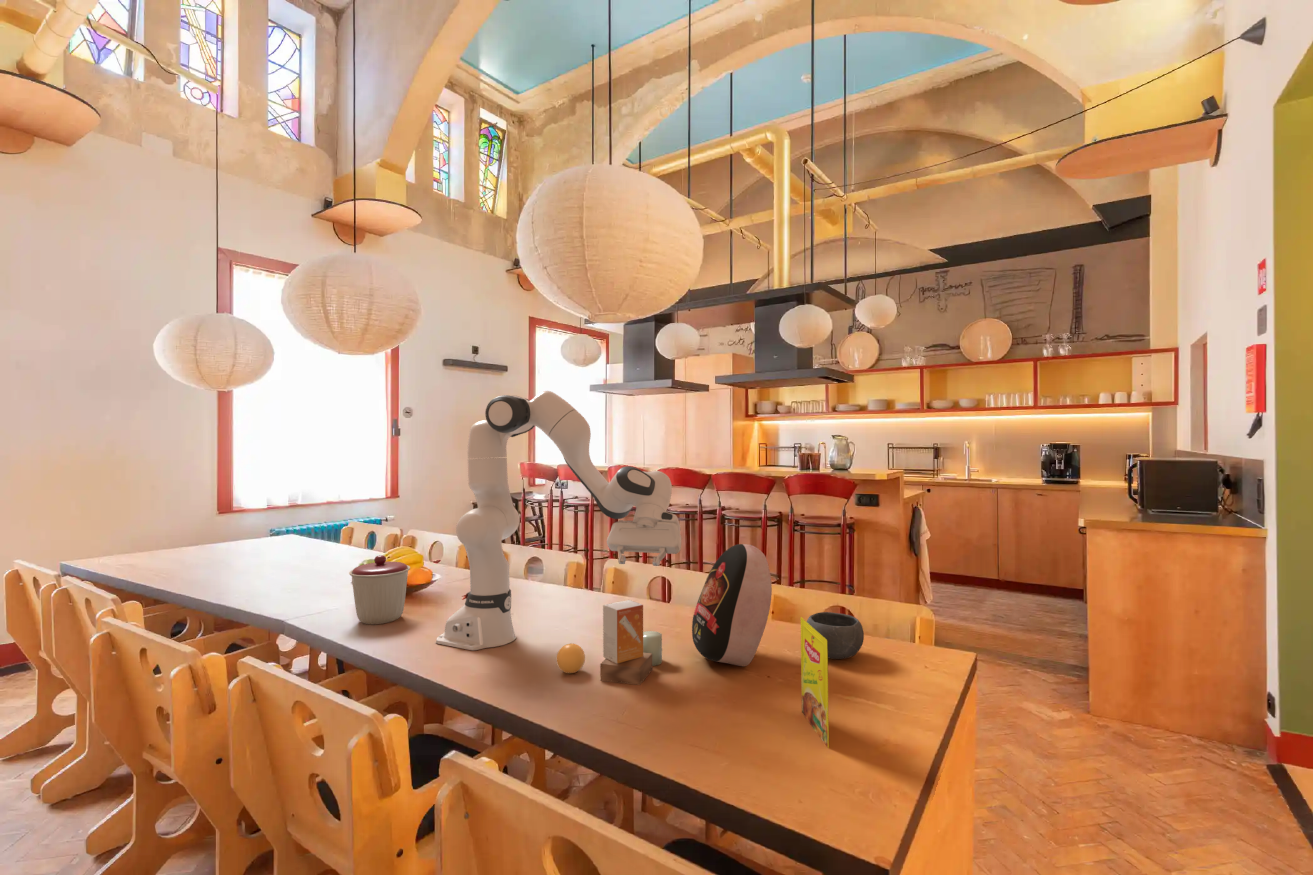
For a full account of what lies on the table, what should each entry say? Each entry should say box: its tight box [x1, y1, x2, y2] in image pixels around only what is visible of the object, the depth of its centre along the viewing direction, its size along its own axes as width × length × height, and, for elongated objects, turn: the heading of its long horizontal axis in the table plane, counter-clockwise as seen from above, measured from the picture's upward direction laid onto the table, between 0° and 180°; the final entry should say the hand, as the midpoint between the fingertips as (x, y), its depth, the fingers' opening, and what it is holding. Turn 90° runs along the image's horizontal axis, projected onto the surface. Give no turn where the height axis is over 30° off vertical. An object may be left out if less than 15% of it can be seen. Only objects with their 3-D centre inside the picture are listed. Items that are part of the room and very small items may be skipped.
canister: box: [348, 554, 411, 625], centre depth 198 cm, size 18×18×21 cm
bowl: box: [806, 611, 865, 660], centre depth 160 cm, size 15×15×10 cm
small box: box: [602, 599, 644, 664], centre depth 150 cm, size 8×6×13 cm
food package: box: [800, 616, 830, 749], centre depth 120 cm, size 15×1×20 cm, turn 5°
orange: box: [556, 642, 586, 674], centre depth 151 cm, size 7×7×7 cm
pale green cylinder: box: [643, 630, 663, 667], centre depth 157 cm, size 6×6×7 cm
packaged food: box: [691, 543, 773, 667], centre depth 159 cm, size 22×20×30 cm
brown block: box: [599, 653, 653, 686], centre depth 149 cm, size 10×10×4 cm
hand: (638, 563), depth 159 cm, fingers open, 8 cm apart
